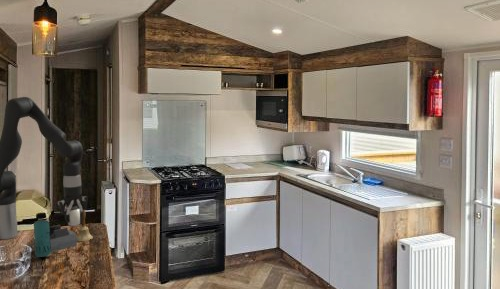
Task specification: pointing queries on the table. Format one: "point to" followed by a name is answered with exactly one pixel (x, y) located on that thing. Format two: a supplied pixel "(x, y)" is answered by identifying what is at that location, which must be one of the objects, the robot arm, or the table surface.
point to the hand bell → (83, 231)
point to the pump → (74, 216)
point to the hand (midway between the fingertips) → (73, 220)
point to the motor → (61, 238)
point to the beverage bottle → (42, 236)
